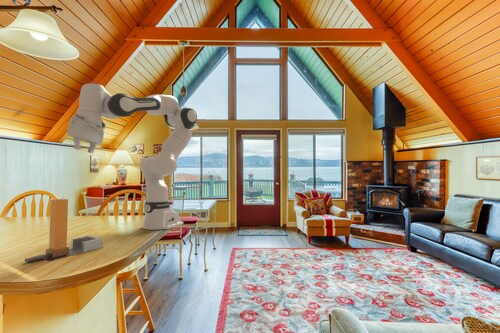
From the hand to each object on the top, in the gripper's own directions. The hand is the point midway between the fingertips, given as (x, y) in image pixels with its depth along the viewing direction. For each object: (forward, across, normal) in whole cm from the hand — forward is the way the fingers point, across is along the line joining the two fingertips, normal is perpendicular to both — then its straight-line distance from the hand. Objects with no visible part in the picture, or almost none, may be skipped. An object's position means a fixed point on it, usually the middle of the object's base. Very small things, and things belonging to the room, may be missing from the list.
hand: (84, 151), depth 103 cm
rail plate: (+39, -14, -8) cm, 42 cm away
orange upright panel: (+38, -20, -4) cm, 43 cm away
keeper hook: (+38, -10, -11) cm, 40 cm away
